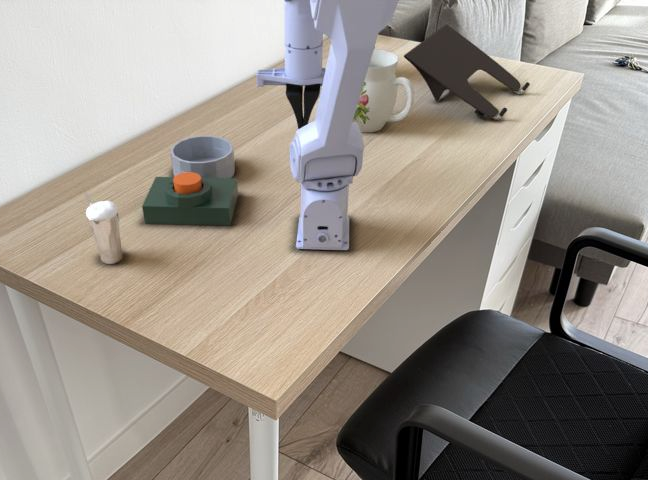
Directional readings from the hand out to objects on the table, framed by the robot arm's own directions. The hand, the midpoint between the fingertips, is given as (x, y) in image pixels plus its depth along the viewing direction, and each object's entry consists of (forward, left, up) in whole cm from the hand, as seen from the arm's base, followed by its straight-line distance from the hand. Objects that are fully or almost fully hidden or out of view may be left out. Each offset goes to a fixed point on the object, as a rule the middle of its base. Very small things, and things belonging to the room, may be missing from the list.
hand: (303, 129), depth 111 cm
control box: (-8, +18, -10) cm, 22 cm away
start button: (-10, +18, -6) cm, 21 cm away
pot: (+5, +18, -10) cm, 21 cm away
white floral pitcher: (+26, -12, -11) cm, 30 cm away
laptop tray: (+41, -33, -11) cm, 54 cm away
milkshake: (-23, +28, -11) cm, 38 cm away
